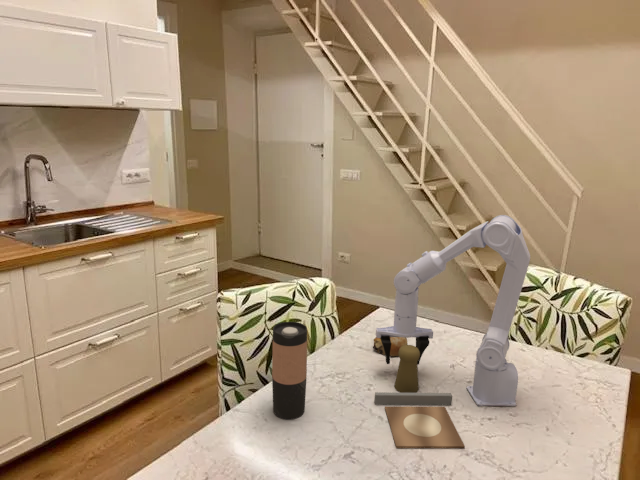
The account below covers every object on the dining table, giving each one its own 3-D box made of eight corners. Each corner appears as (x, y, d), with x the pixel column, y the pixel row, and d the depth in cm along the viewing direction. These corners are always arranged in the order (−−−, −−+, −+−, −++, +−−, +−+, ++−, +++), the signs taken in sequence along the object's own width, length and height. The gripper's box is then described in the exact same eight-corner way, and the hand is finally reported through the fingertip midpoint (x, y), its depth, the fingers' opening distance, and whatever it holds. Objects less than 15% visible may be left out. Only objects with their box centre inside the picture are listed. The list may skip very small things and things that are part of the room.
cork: (418, 395, 114) (422, 354, 112) (393, 392, 116) (396, 351, 113) (418, 383, 120) (422, 343, 118) (394, 380, 121) (397, 340, 119)
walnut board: (444, 408, 109) (444, 406, 109) (464, 448, 96) (464, 445, 96) (384, 408, 109) (384, 405, 109) (396, 448, 95) (396, 445, 95)
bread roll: (403, 369, 134) (417, 346, 133) (371, 354, 133) (385, 331, 132) (398, 353, 144) (411, 332, 142) (368, 339, 143) (381, 317, 141)
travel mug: (290, 397, 112) (291, 318, 108) (312, 411, 107) (314, 329, 102) (265, 409, 107) (265, 327, 102) (287, 424, 102) (288, 339, 97)
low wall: (449, 402, 112) (450, 392, 111) (451, 405, 111) (452, 395, 110) (374, 401, 111) (374, 392, 111) (375, 404, 110) (375, 395, 110)
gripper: (429, 308, 125) (425, 355, 128) (375, 307, 124) (372, 355, 127) (437, 318, 118) (432, 368, 121) (379, 318, 117) (376, 367, 120)
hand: (402, 362), depth 124 cm, fingers open, 7 cm apart
